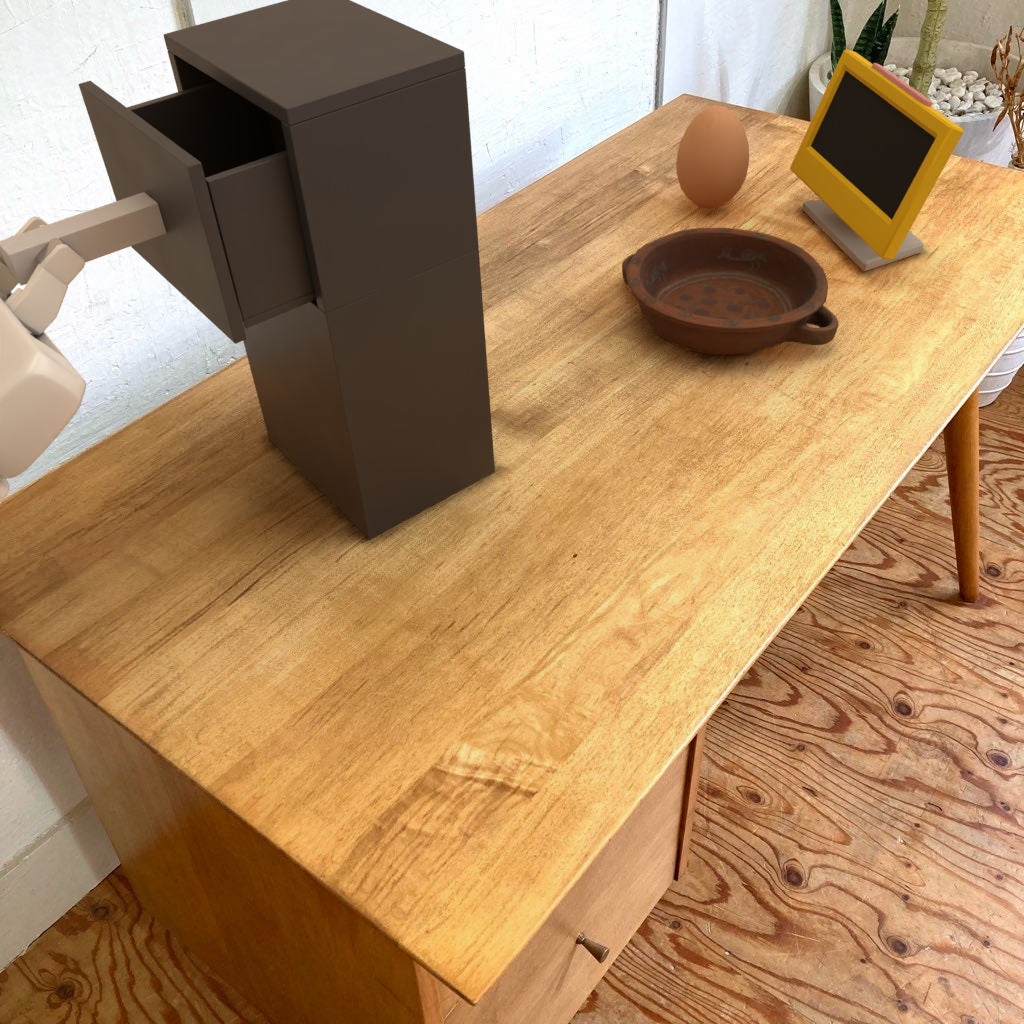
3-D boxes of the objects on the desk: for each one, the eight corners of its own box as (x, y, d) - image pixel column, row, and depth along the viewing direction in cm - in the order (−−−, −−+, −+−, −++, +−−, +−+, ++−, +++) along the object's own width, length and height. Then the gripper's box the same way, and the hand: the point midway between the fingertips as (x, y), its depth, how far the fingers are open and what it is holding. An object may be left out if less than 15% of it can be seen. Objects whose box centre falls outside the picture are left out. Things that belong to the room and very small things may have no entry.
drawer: (92, 406, 59) (19, 223, 52) (1, 295, 68) (-72, 126, 61) (397, 277, 68) (374, 103, 60) (281, 194, 77) (248, 35, 70)
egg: (757, 201, 115) (769, 103, 108) (719, 229, 111) (729, 129, 104) (698, 183, 119) (706, 87, 112) (659, 209, 115) (665, 111, 108)
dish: (788, 405, 89) (797, 356, 86) (571, 327, 99) (571, 281, 96) (869, 309, 99) (879, 262, 96) (664, 247, 109) (667, 203, 106)
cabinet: (369, 539, 79) (285, 108, 57) (268, 438, 89) (162, 33, 66) (495, 471, 85) (464, 50, 62) (387, 382, 94) (326, -12, 71)
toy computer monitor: (784, 197, 116) (806, 51, 105) (850, 186, 117) (878, 40, 106) (874, 289, 101) (909, 130, 91) (947, 276, 103) (991, 117, 92)
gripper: (-99, 364, 69) (41, 209, 70) (3, 529, 57) (172, 340, 58) (-192, 311, 64) (-40, 143, 65) (-102, 480, 52) (84, 273, 53)
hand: (61, 237), depth 61 cm, fingers closed on drawer, 2 cm apart
